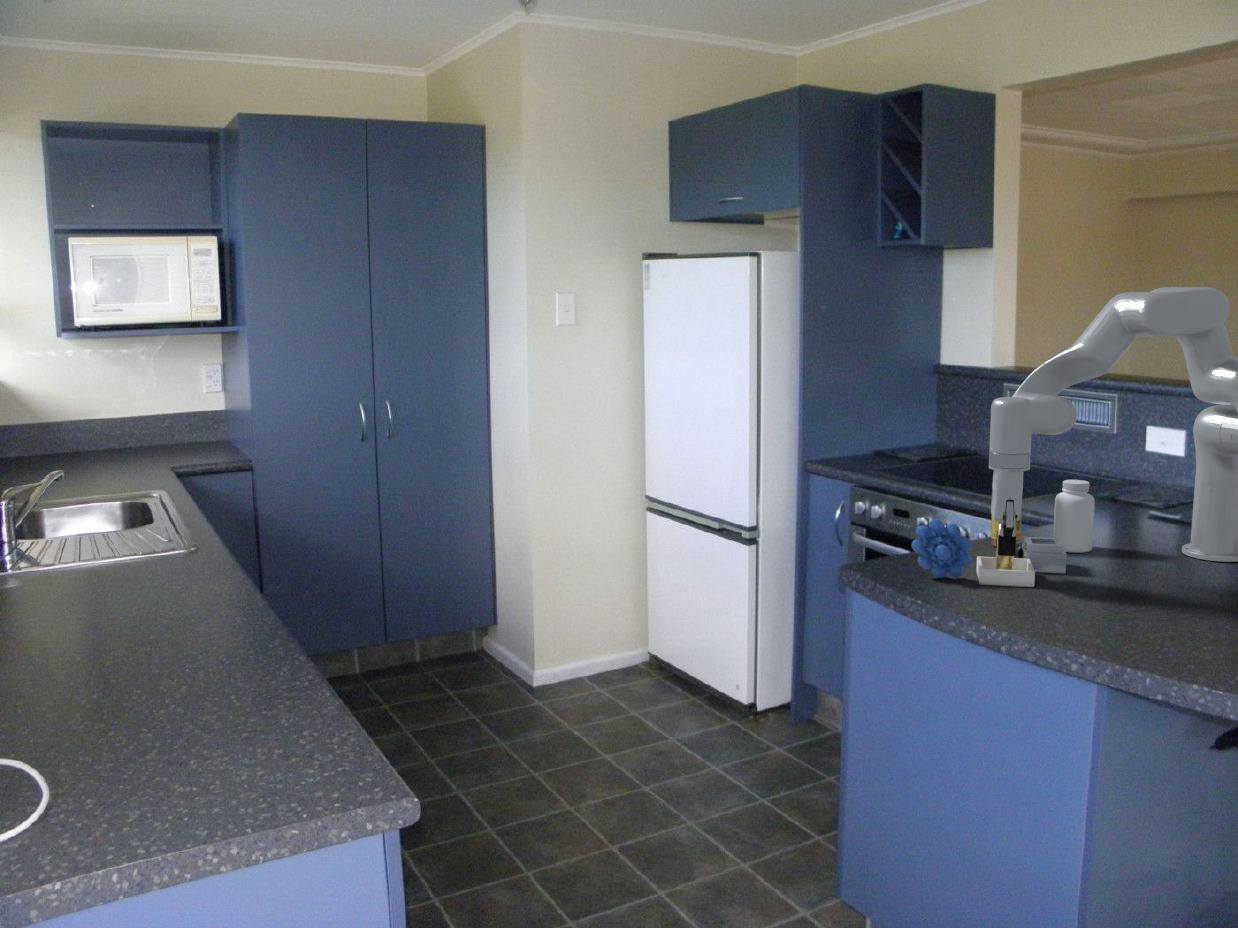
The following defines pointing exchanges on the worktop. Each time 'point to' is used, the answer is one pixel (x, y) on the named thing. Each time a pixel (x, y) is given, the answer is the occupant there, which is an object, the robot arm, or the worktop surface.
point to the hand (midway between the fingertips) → (1005, 552)
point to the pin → (1003, 561)
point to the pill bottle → (1074, 516)
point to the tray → (1005, 572)
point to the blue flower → (942, 549)
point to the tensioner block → (1042, 554)
